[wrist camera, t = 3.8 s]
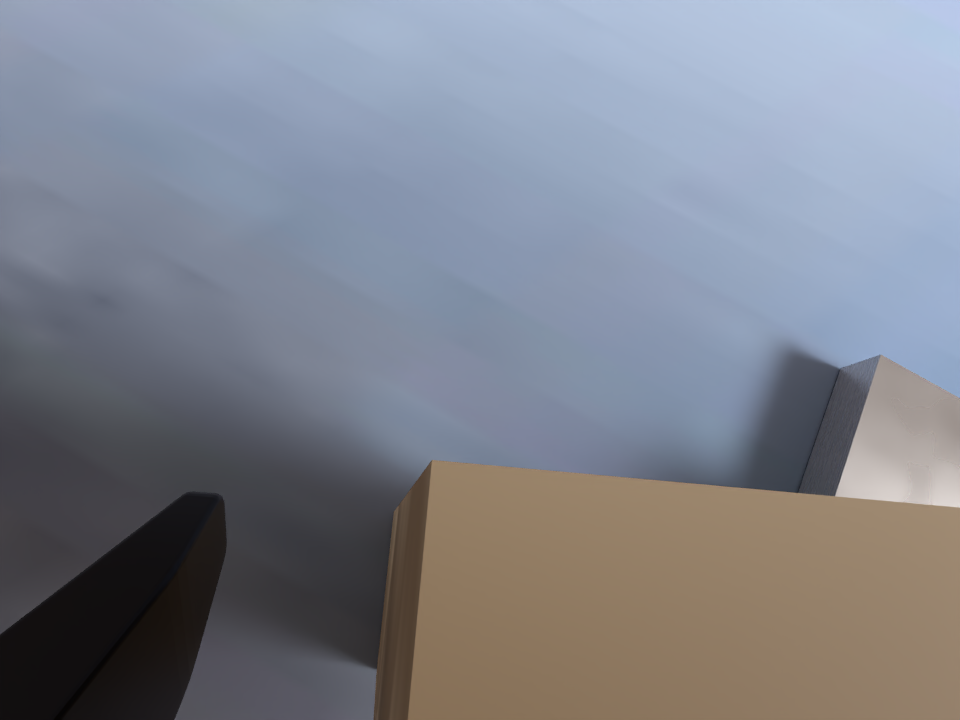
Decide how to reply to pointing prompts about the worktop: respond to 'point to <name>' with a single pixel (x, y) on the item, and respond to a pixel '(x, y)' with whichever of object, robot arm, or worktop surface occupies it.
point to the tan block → (664, 602)
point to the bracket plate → (887, 438)
